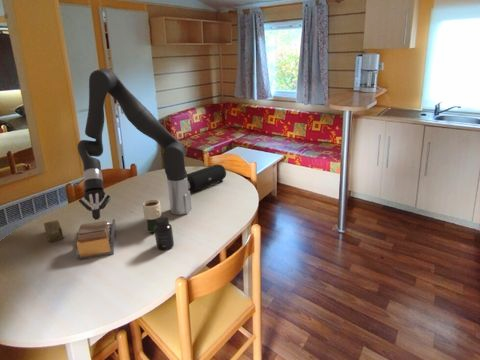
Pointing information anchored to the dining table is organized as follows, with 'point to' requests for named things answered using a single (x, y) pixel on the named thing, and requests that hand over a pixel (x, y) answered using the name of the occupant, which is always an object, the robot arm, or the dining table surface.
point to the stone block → (53, 230)
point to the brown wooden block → (93, 231)
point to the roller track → (97, 245)
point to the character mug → (151, 213)
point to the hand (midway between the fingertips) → (96, 218)
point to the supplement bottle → (163, 234)
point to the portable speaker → (205, 177)
